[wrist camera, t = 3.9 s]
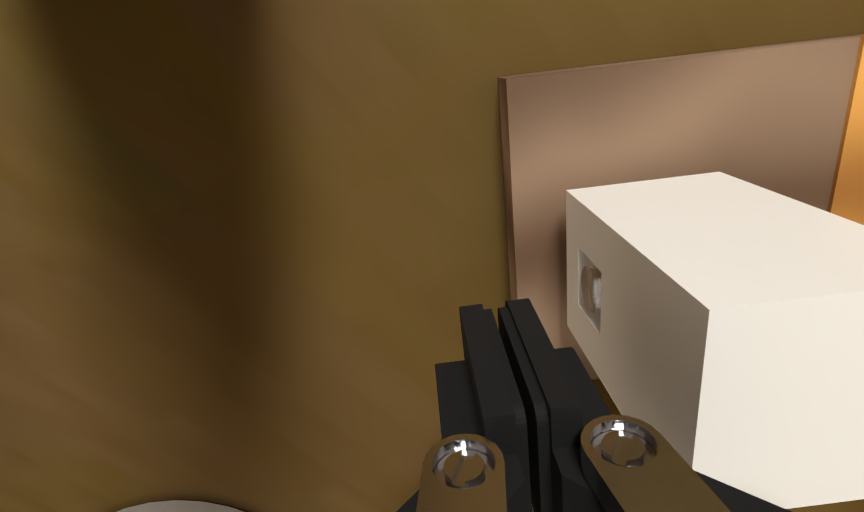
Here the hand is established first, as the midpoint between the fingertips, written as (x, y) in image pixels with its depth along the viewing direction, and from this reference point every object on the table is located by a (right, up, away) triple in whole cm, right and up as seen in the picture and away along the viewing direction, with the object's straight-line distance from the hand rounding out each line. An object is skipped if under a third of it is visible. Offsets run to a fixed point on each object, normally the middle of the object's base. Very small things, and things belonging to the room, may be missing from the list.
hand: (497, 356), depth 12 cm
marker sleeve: (+5, +3, +5) cm, 8 cm away
